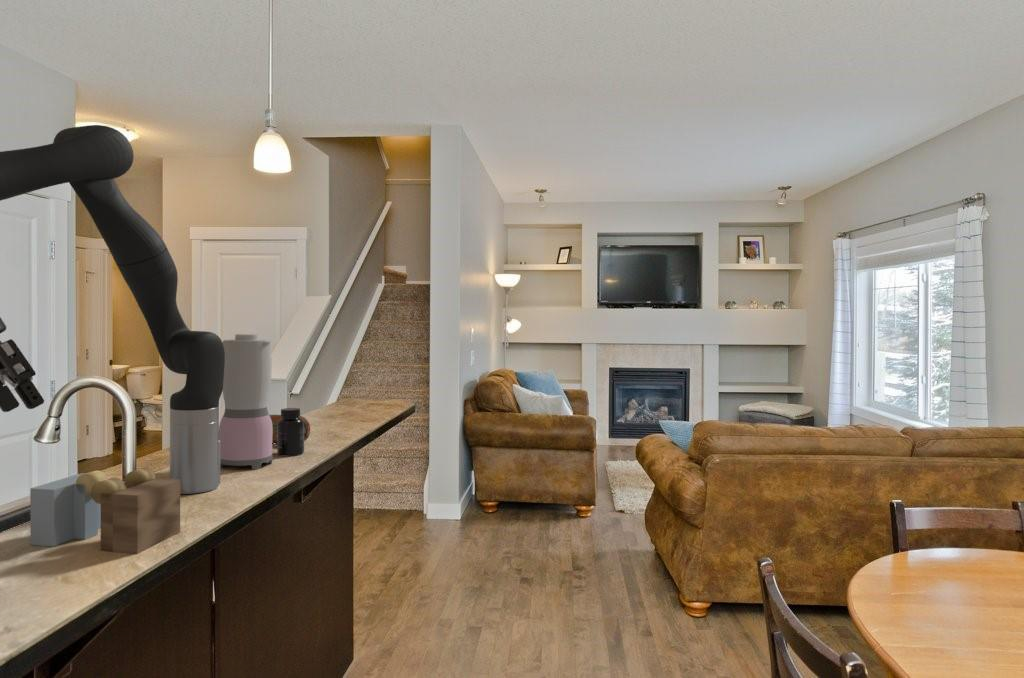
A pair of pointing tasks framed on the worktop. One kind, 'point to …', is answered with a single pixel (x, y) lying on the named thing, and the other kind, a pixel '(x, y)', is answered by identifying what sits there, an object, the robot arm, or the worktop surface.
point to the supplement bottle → (290, 432)
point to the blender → (246, 402)
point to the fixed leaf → (137, 510)
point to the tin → (277, 417)
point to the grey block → (65, 510)
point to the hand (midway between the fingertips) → (24, 407)
